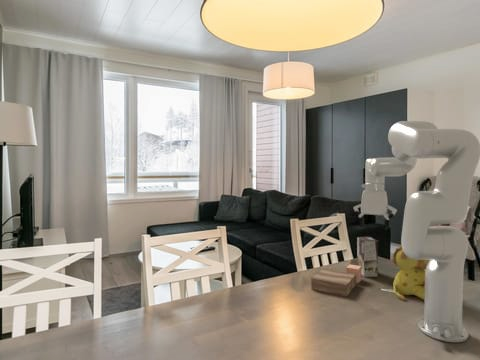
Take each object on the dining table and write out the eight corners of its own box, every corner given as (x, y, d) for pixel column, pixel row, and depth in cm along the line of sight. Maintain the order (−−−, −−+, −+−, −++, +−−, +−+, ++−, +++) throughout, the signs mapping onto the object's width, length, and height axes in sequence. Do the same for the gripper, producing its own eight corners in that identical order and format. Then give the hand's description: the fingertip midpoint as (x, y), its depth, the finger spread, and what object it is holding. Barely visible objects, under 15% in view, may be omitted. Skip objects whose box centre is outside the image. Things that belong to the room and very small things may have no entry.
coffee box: (378, 276, 143) (378, 240, 143) (363, 277, 143) (364, 241, 143) (370, 270, 152) (370, 236, 152) (356, 270, 153) (356, 236, 152)
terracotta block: (358, 283, 136) (358, 269, 136) (346, 281, 139) (346, 267, 139) (361, 279, 140) (361, 266, 140) (349, 277, 143) (349, 264, 143)
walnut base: (346, 296, 123) (346, 284, 122) (311, 289, 130) (311, 278, 130) (355, 284, 134) (355, 274, 134) (322, 278, 142) (322, 268, 142)
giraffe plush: (460, 304, 115) (461, 251, 114) (391, 302, 117) (391, 250, 116) (432, 283, 135) (432, 238, 134) (373, 282, 137) (373, 237, 136)
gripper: (351, 187, 138) (350, 227, 139) (395, 189, 129) (394, 231, 130) (356, 186, 145) (355, 224, 146) (398, 187, 135) (398, 228, 136)
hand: (374, 227), depth 138 cm, fingers open, 9 cm apart
